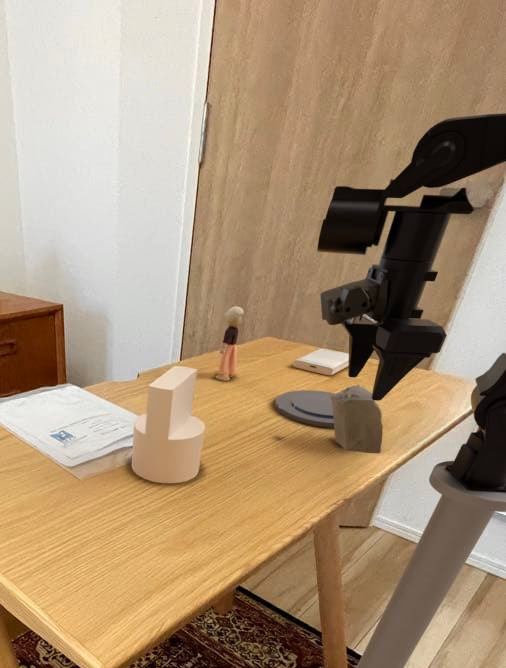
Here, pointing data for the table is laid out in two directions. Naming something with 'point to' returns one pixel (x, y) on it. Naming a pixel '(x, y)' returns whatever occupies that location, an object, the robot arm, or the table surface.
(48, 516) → the table surface
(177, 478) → the base with upright slab
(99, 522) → the table surface
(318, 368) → the hard drive
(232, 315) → the grandmother figurine
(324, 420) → the plate
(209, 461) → the table surface
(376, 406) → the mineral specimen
